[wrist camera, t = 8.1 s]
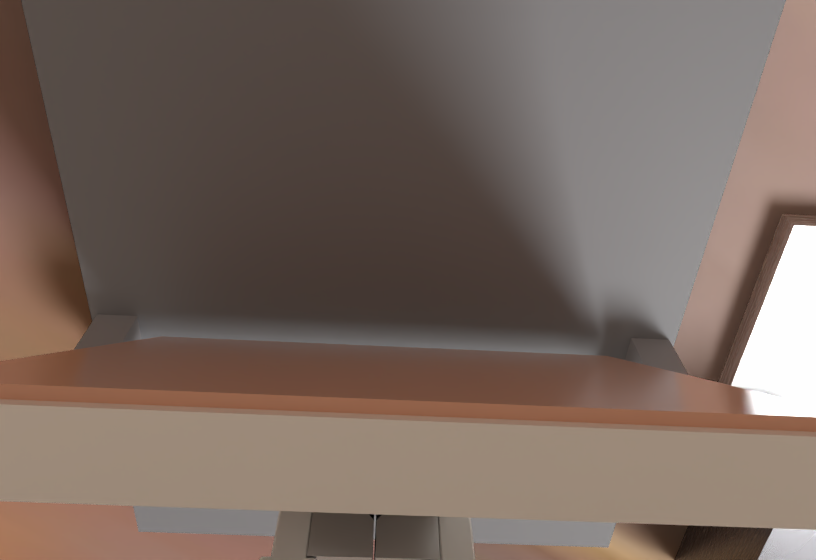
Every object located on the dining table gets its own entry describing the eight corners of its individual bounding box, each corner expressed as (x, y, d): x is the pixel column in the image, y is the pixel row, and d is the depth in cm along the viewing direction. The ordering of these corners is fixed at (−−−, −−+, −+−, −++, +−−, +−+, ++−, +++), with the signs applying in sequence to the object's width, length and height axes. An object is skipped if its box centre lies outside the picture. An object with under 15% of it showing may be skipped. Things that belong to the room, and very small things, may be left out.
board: (795, -100, 16) (863, -91, 14) (602, 526, 28) (620, 589, 25) (10, -152, 15) (-62, -154, 13) (147, 510, 27) (122, 573, 25)
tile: (921, 533, 9) (924, 425, 9) (-180, 495, 9) (-171, 381, 9) (614, 401, 21) (616, 355, 21) (149, 382, 21) (151, 335, 21)
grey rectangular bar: (768, 562, 29) (816, 656, 26) (650, 557, 29) (683, 651, 25) (945, 221, 21) (1052, 294, 17) (781, 213, 20) (856, 284, 17)
